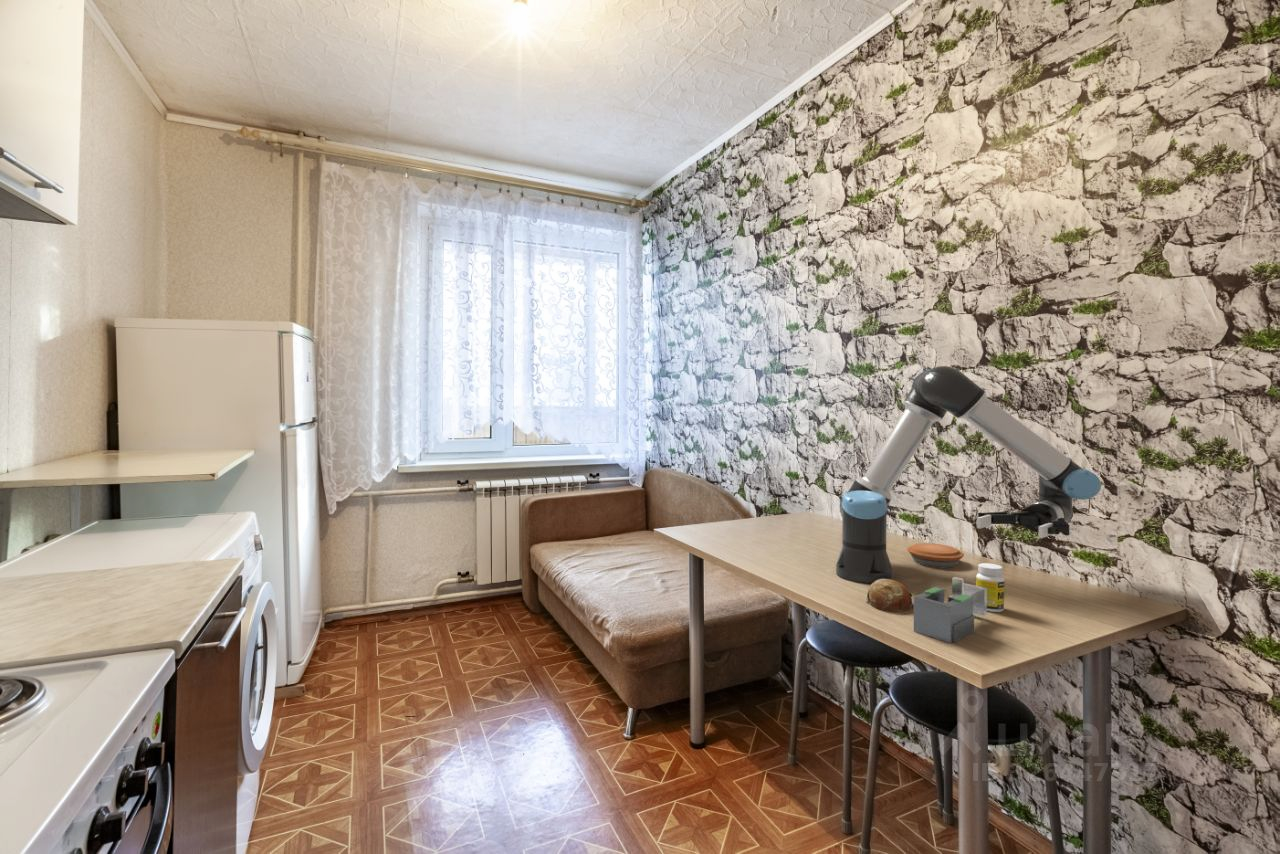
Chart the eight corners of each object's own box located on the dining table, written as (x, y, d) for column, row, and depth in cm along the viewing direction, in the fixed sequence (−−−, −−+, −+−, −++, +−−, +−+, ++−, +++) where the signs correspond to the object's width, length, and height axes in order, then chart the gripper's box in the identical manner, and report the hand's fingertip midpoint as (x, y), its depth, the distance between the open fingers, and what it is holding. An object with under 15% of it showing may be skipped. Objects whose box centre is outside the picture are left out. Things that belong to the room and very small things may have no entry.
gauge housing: (935, 620, 124) (936, 585, 124) (974, 631, 118) (974, 595, 117) (912, 630, 118) (913, 594, 118) (951, 643, 112) (952, 605, 112)
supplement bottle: (1002, 614, 127) (1002, 570, 127) (973, 609, 131) (973, 566, 131) (1005, 607, 132) (1006, 565, 131) (978, 602, 135) (978, 561, 135)
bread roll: (867, 611, 140) (854, 583, 140) (905, 594, 139) (891, 566, 139) (883, 627, 130) (869, 596, 130) (924, 608, 129) (909, 578, 129)
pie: (960, 573, 160) (960, 556, 159) (902, 564, 169) (902, 548, 169) (967, 561, 172) (967, 545, 172) (912, 553, 181) (912, 538, 181)
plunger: (963, 608, 129) (963, 569, 128) (986, 614, 125) (987, 574, 124) (941, 618, 123) (942, 577, 122) (965, 625, 119) (966, 583, 118)
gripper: (1099, 539, 139) (1069, 552, 126) (990, 523, 159) (955, 533, 147) (1100, 509, 138) (1069, 520, 126) (990, 497, 159) (955, 505, 146)
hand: (1008, 527), depth 136 cm, fingers open, 13 cm apart
